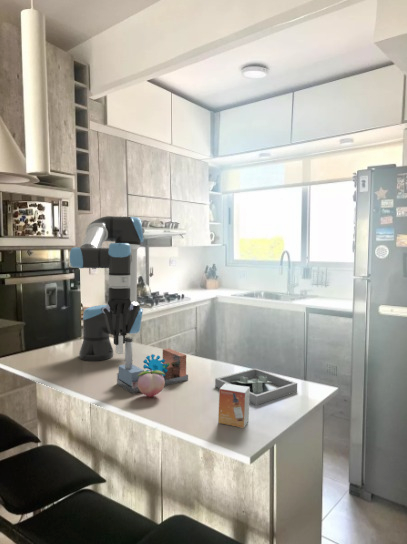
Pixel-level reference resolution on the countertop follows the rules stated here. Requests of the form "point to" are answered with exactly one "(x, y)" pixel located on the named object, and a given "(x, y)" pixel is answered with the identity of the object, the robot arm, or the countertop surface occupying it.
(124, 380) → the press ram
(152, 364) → the gear
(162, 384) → the decorative fruit
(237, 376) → the parts tray
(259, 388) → the metal bracket
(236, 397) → the small box
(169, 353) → the frame
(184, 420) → the countertop surface
